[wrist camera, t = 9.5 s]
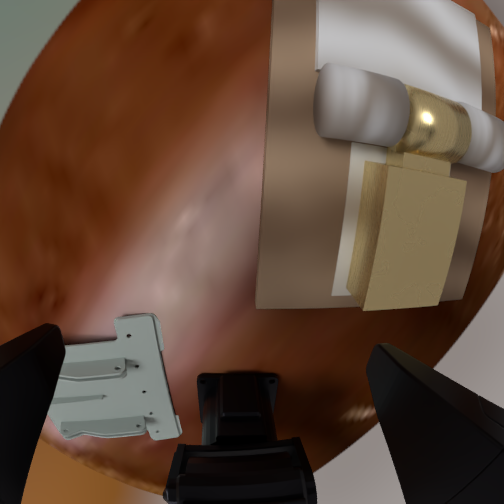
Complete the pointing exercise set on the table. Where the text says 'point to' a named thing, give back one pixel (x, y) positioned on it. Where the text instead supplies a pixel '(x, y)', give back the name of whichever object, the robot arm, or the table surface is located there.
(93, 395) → the metal bracket
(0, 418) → the robot arm
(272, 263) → the hinge base
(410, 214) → the perfume bottle
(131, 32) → the table surface
